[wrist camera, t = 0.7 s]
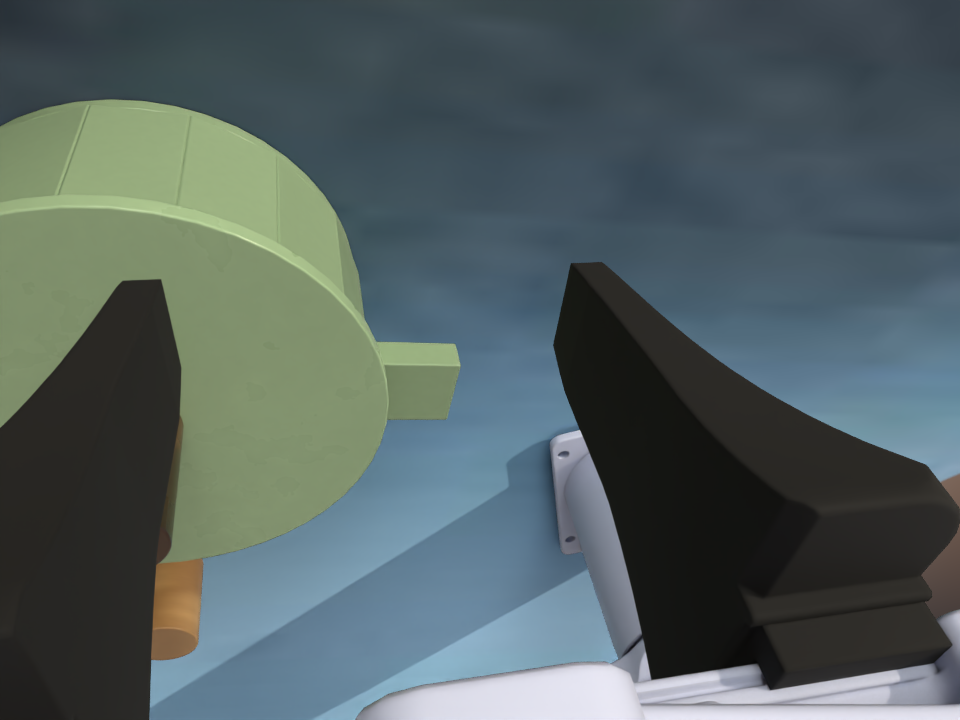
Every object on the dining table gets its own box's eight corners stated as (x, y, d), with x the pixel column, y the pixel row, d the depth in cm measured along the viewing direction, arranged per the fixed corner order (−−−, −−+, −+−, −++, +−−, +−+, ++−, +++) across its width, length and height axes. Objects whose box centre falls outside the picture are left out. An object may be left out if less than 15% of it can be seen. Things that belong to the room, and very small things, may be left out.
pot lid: (359, 527, 28) (372, 659, 24) (-79, 545, 24) (-138, 704, 20) (417, 202, 19) (450, 337, 15) (-262, 150, 15) (-420, 312, 12)
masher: (239, 482, 32) (235, 615, 28) (238, 532, 34) (234, 662, 30) (107, 484, 31) (81, 625, 26) (115, 537, 33) (93, 673, 29)
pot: (405, 416, 31) (425, 530, 27) (-113, 416, 26) (-178, 557, 22) (464, 133, 23) (504, 239, 19) (-268, 57, 18) (-413, 179, 14)
